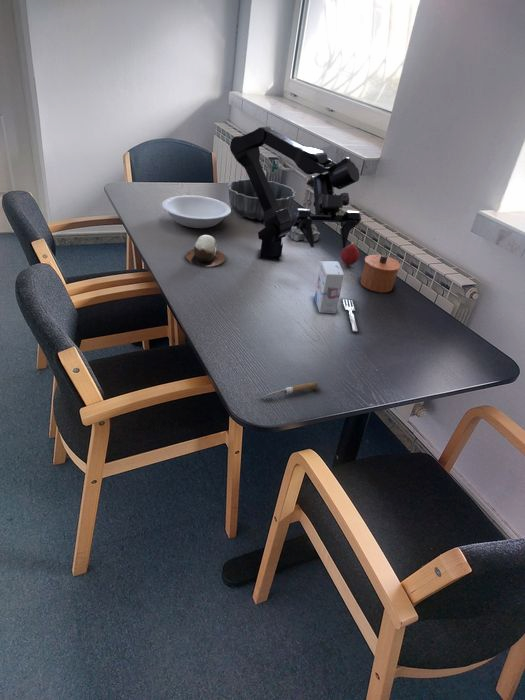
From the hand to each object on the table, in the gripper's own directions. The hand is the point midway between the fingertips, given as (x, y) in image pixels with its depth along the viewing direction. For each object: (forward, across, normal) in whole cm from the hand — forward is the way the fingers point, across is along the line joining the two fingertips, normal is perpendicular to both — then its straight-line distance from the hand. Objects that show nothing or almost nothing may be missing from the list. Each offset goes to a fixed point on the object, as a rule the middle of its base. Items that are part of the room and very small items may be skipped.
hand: (328, 247), depth 134 cm
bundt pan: (-36, -7, +54) cm, 66 cm away
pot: (+6, +20, +14) cm, 25 cm away
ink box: (+16, -1, +4) cm, 16 cm away
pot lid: (+1, +20, +9) cm, 22 cm away
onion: (-3, +15, +23) cm, 28 cm away
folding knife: (+42, -20, -22) cm, 52 cm away
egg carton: (-20, +5, +39) cm, 44 cm away
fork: (+19, +5, 0) cm, 20 cm away
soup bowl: (-26, -33, +44) cm, 60 cm away
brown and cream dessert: (-5, -32, +24) cm, 40 cm away
